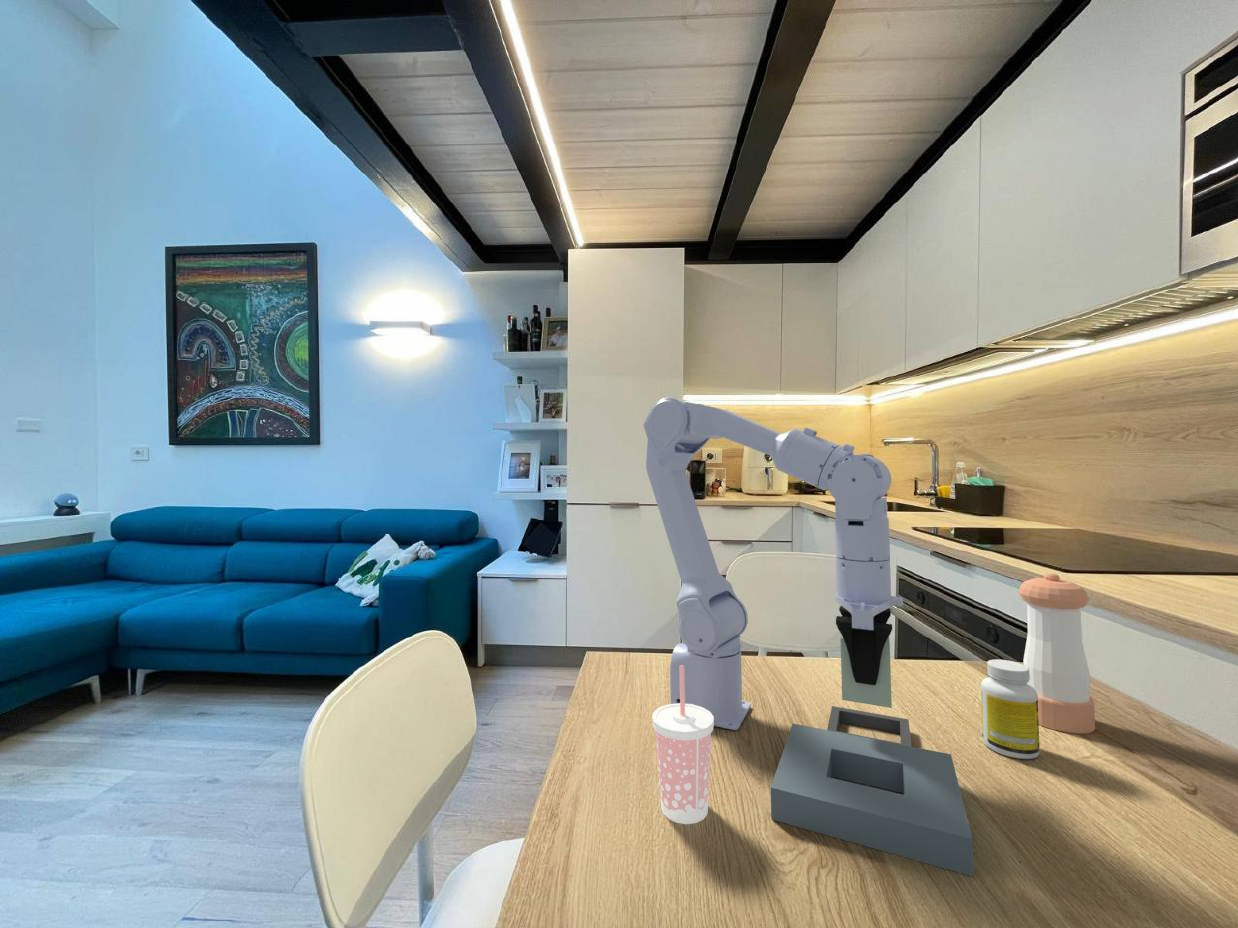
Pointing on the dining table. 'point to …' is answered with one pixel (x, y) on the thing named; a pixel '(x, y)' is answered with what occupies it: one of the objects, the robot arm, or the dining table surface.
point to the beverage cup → (683, 758)
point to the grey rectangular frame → (870, 723)
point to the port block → (874, 796)
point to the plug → (865, 692)
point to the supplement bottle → (1010, 710)
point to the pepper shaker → (1058, 654)
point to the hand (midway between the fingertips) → (865, 675)
